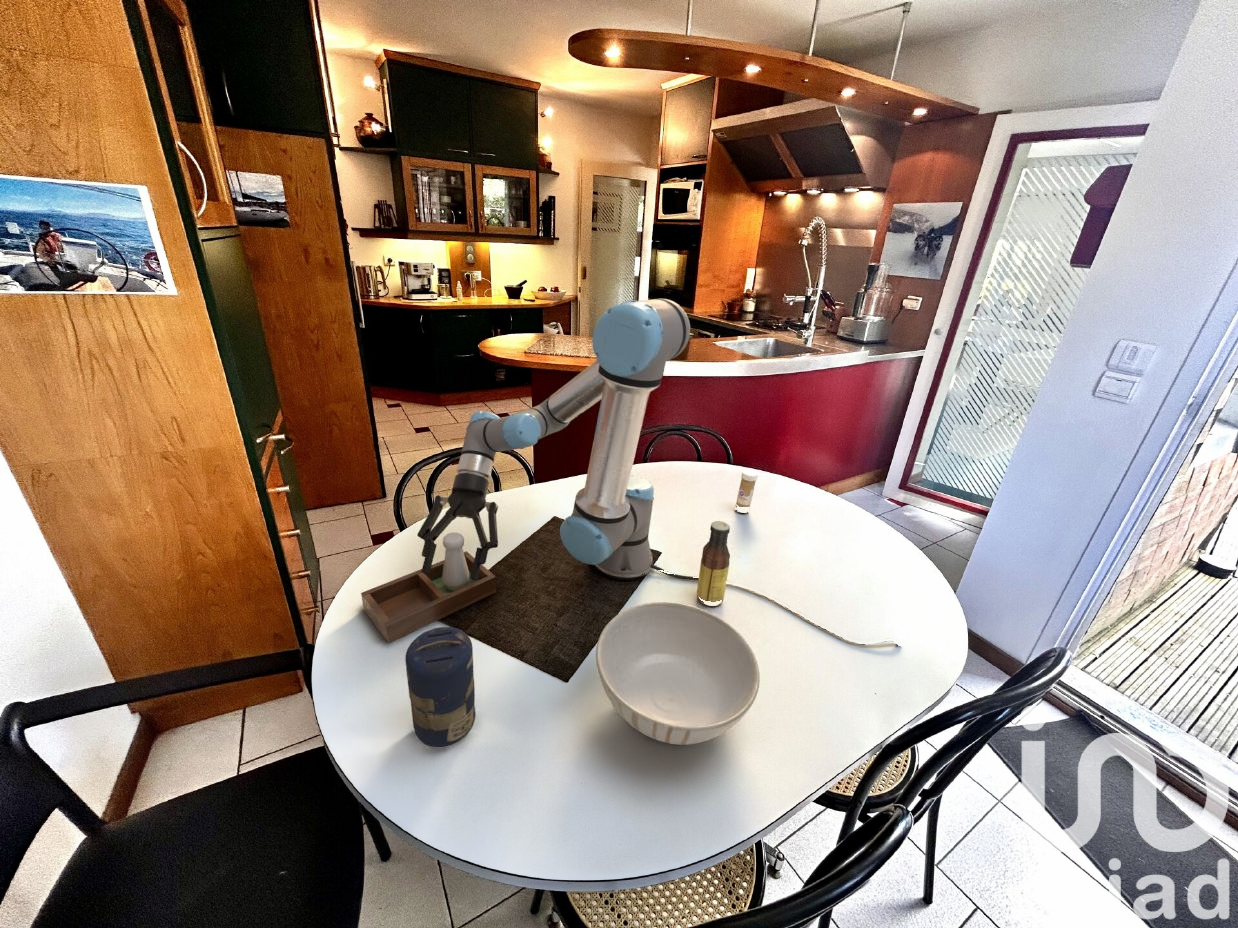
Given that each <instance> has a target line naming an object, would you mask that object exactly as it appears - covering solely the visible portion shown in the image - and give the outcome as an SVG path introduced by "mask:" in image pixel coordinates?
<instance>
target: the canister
mask: <svg viewBox="0 0 1238 928" xmlns="http://www.w3.org/2000/svg"><path fill="white" fill-rule="evenodd" d="M473 648H474V647H473V643H472V640H471V638H470V636H469V635H468V634H467V633H466V632H465V631H464V630H462V629H460V628H458V627H457V628H456V627H453V626H441V627H435V628H432V629H429V630H426V631H424V632H422V633H420V634H419V635H418V636H417V637H416V638H414V639H413V640H412V642H411V643H410V644H409V645H408V648H407V651H406V653H405V670H406V678H407V687H408V688H407V689H408V697H409V701H410V708H411V717H412V727H413V730H414V735H415V736H416V738H417V739H418V741H420V743H422V744H423V745H425V746H428V747H430V748H437V749H440V748H441V749H442V748H448V747H451V746H453V745H455V744H457V743H459V742H461V740H463V739H464V738H465V737H467V735H468V734H469V733H470V731H471V730H472V728H473V726H474V724H475V720H476V716H477V715H476V713H477V712H476V705H475V701H476V700H475V699H476V698H475V697H476V693H475V691H476V690H475V689H476V687H475V675H474V674H475V673H474V672H475V671H474V652H473V650H474V649H473Z"/></svg>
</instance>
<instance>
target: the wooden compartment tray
mask: <svg viewBox="0 0 1238 928" xmlns="http://www.w3.org/2000/svg"><path fill="white" fill-rule="evenodd" d="M463 552H464V556H465V560H466V563H467V567H468V570H469V580H468V582H467V584H466V586H465V587H463V588H461V589H459V590H456V591H450V590H448V589H447V588H446V586H445V585H444V583H443V582H442V575H443V567H444V560H445V559H443V560H440V561H438V562H436V563H432V566H431V570H430V574H425V573H422V572H421V571H422V568H420V569H418V570H415V571H413V572H410V573H408V574H405V575H403V576H400V577H397V578H395V579H392V580H390V581H387V582H384V583H381V584H380V585H377V586H374V587H372V588H370V589H367V590H365V591H363V592H360V595H361V602H362V607H363V610H364V612H365V613H366V615H367V616H368V617H369V619H370V620H371V621H372V623H373V624H374V626H375V627H376V629H377V630H378V631H379V633H380V634H381V635H382V637H383V638H384V639H385V641H386V643H388V644H391V643H393V642H396V641H397V640H400V639H401V638H403V637H405V636H408V635H410V634H412V633H414V632H416V631H418V630H420V629H422V628H424V627H427V626H428V625H429V626H430V625H431V624H433V623H435V622H437V621H439V620H441V619H443V618H445V617H448V616H449V615H451V614H454V613H455V612H458V611H460V610H462V609H464V608H466V607H468V606H471V605H472V604H474V603H477V602H479V601H481V600H483V599H485V598H487V597H489V596H491V595H493V594H495V593H497V580H496V579H497V578H496V575H494V574H493V573H492V572H491V571H490V570H489V569H487V568H486V567H485V565H484V564H481V565H480V570H479V574H478V579H477V580H473V579H471V578H470V577H471V572H472V568H473V563H474V559H475V556H473V555H472V554H471V553H469V551H467V550H466V551H463Z"/></svg>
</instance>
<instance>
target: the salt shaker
mask: <svg viewBox="0 0 1238 928" xmlns="http://www.w3.org/2000/svg"><path fill="white" fill-rule="evenodd" d="M464 545H465V537H464V536H463V534H461V533H459V532H450V533H447V534H446V535H445V536H443V538H442V546H443V548H444V549H445V554H444V559H443V560H444V567H443V575H442V582H443V583H444V585H445V586H446V588H447V589H448V590H450V591H456V590H459V589H461V588H463V587H465V586H466V584H467V582H468V580H469V570H468V567H467V563H466V560H465V556H464V552H465V551H464V549H463V547H464Z"/></svg>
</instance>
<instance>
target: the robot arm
mask: <svg viewBox="0 0 1238 928" xmlns="http://www.w3.org/2000/svg"><path fill="white" fill-rule="evenodd" d="M690 337H691V323H690V320H689V317H688V315H687V313H686V311H685V310H684V309H683V307H682V306H680V304H678V303H677V302H675V301H673V300H671V299H667V298H662V297H661V298H652V299H644V300H643V299H642V300H635V299H634V300H628V301H624V302H621V303H619V304H616V305H613V306H612V307H610V308H608V309H607V310H605V312H603V314H602V315H601V316H600V317H599V318H598V320H597V322H596V324H595V327H594V329H593V333H592V341H591V342H592V344H591V345H592V350H593V354H594V355H595V356H596V360H595V361H593V363H591V364H590V365H588V366H587V367H586V368H585V369H583V370H582V371H581V372H580V373H578V374H577V375H576V376H574V377H573V378H572V379H571V380H569V381H568V382H567V383H565V384H564V385H562V387H560V388H559V389H558V390H556V391H555V392H554V393H552V394H551V395H550V396H549V397H547V398H546V399H545V400H543V401H542V402H541V403H539V404H538V405H536V406H533V407H529V408H527V409H525V410H524V409H523V410H522V411H519V412H516V413H513V414H511V415H507V416H503V417H500V416H499V415H498V414H495V413H493V412H490V411H475V412H474V413H472V414H471V416H470V419H469V422H468V425H467V427H466V429H465V431H466V432H465V436H464V440H463V444H462V449H461V453H460V457H459V461H458V465H457V468H456V473H457V474H455V477H454V480H453V484H452V488H451V492H450V495H449V496H440V495H439V494H438V495H436V496H435V497H434V501H433V505H432V507H431V509H430V511H429V513H428V515H427V516H426V518H425V520H424V521H423V523H422V525H421V527H420V529H419V530H418V532H417V537H418V538H420V539H421V540H423V541H424V543H423V547H422V550H421V556H422V557H423V558H424V559H423V563H422V568H421V569H422V571H421V572H422V573H425V574H430V570H431V566H432V565H433V561H434V558H435V554H436V549H437V546H438V544H437V543H435V541H436V540H437V539H438V538H439V537H440V535H441V534H443V532H444V531H445V530H446V529H447V528H448V527H449V525H450V524H451V523H452V522H453V521H454V520H456V519H457V518H466V519H470V520H471V519H472V522H473V525H474V528H475V531H476V534H477V537H478V541H479V544H480V547H476V549H475V555H474V558H475V559H474V563H473V568H472V572H471V577H470V578H471V579H473V580H477V579H478V574H479V570H480V565H481V564H482V565H485V564H486V562H487V558H488V553H489V550H491V549H497V548H498V546H499V537H498V522H497V512H498V510H499V505H498V504H497V502H495V501H491V502H490V501H487V499H486V498H487V494H488V490H489V484H490V482H489V480H490V479H491V475H492V471H493V466H494V462H495V457H496V454H497V453H501V452H506V451H507V452H508V451H512V450H525V449H526V448H530V447H533V446H535V445H536V444H537V443H538V441H539V440H541V439H543V438H545V437H547V436H549V435H552V434H554V433H559V432H560V431H562V430H564V428H566V427H567V426H568V425H569V424H570V423H571V421H573V420H574V419H575V418H578V416H580V415H581V414H583V413H584V412H585V411H587V410H588V409H590V408H591V407H593V406H594V405H595V404H597V403H598V402H600V405H599V411H598V415H597V421H596V425H595V431H594V436H593V442H592V448H591V452H590V458H589V463H588V468H587V474H586V480H585V483H584V487H583V488H581V489H579V490H578V491H577V492H576V494H575V498H574V503H573V508H572V513H571V515H569V516H567V517H566V518H565V519H564V521H563V522H561V524H560V528H559V536H560V540H561V542H562V544H563V546H564V547H565V548H566V550H567V552H568V553H569V554H570V555H571V556H572V557H573V558H574V559H576V560H577V561H579V562H581V563H583V564H586V565H592V566H593V568H594V570H595V571H596V572H598V573H599V574H600V575H602V576H604V577H606V578H609V579H612V580H616V581H634V580H638V579H642V578H643V577H645V576H646V575H648V574H649V573H650V572H651V570H652V569H653V570H655V569H656V570H655V571H658V570H663V571H664V570H665V569H664V568H662V567H660V566H657V565H655V564H653V561H654V559H653V553H652V551H651V545H650V541H649V540H650V539H649V533H650V528H651V519H652V512H653V505H654V504H653V503H654V500H655V497H654V494H655V493H654V492H655V488H654V486H653V484H652V483H651V481H650V482H649V480H646V479H645V478H643V477H640V476H637V475H634V474H633V475H632V474H631V473H632V470H633V466H634V461H635V457H636V452H637V448H638V444H639V440H640V435H641V432H642V427H643V423H644V419H645V414H646V410H647V406H648V402H649V399H650V394H651V392H653V391H655V390H656V389H658V388H660V386H661V383H662V379H663V375H664V372H665V367H666V363H667V362H669V361H670V360H673V359H674V358H676V357H678V356H679V355H680V354H681V353H683V351H684V350H685V348H686V347H687V345H688V342H689V341H690ZM447 504H448V506H449V508H448V509H447V510H446V511H445V514H444V515H443V516H442V517H441V518H440V519H439V521H438V518H439V517H440V515H441V513H442V511H443V509H444V507H446V506H447ZM485 508H486V511H487V519H488V533H489V534H488V535H489V541H488V537H487V535H486V532H485V529H484V525H483V523H482V518H481V515H480V513H481V512H482V511H483V510H484V509H485ZM437 521H438V522H437ZM436 522H437V523H436ZM659 572H660V573H662V574H664V575H666V576H667V577H671V578H674V579H679V580H684V581H685V580H686V581H696V582H698V579H699V578H693V577H694V576H689V575H683V574H677V573H673V574H667V573H664V572H661V571H659ZM644 573H645V574H644ZM642 574H643V575H642ZM674 574H675V575H674Z"/></svg>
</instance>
